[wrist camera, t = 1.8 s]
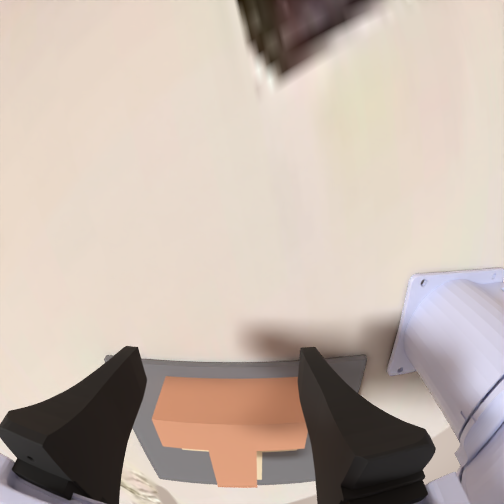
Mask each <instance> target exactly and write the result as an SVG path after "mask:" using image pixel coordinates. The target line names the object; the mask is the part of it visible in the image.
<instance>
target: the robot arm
mask: <svg viewBox="0 0 504 504" xmlns="http://www.w3.org/2000/svg"><path fill="white" fill-rule="evenodd" d="M422 280H424V282H423V283H422V284H421V281H422ZM503 280H504V269H503V268H489V269H477V270H464V271H450V272H436V273H420V274H414V275H413V276H411V278H410V279H409V283H408V288H407V293H406V298H405V302H404V307H403V311H402V316H401V320H400V324H399V328H398V332H397V336H396V340H395V343H394V347H393V351H392V354H391V358H390V361H389V364H388V367H387V372H388V374H389V375H390V376H394V375H400V374H405V373H410V372H415V371H417V372H418V374H419V376H420V377H421V379H422V380H423V382H424V383H425V385H426V387H427V388H428V390H429V391H430V393H431V395H432V396H433V398H434V399H435V401H436V403H437V404H438V406H439V408H440V409H441V411H442V413H443V414H444V416H445V418H446V419H447V421H448V423H449V424H450V426H451V428H452V430H453V431H454V433H455V435H456V436H457V438H458V440H459V442H460V447H459V448H458V450H457V451H456V452H455V455H456V457H457V459H458V461H459V463H460V465H461V466H460V468H459V469H458V471H457V473H456V472H452V473H450V474H448V475H445V476H443V477H440V478H438V479H436V480H434V481H431V482H429V483H428V484H427V485H424V482H423V479H424V478H425V475H424V472H423V468H424V467H425V466H426V465H427V464H428V462H429V461H430V460H431V458H432V457H433V455H434V453H435V446H434V444H433V442H432V440H431V438H430V436H429V434H428V433H427V431H426V430H425V429H423V428H421V427H418V426H415V425H412V424H410V423H407V422H404V421H402V420H400V419H398V418H396V417H394V416H392V415H390V414H388V413H386V412H384V411H383V410H381V409H379V408H378V407H376V406H374V405H373V404H371V403H370V402H369V401H367V400H366V399H364V398H363V397H362V396H361V395H359V394H358V393H357V392H356V391H355V390H353V389H352V388H351V387H350V386H349V385H348V384H347V383H346V382H345V381H344V380H343V379H342V378H341V377H340V376H339V375H338V374H337V373H336V372H335V371H334V370H333V368H332V367H331V366H330V365H329V364H328V363H327V361H326V360H325V359H324V358H323V357H322V355H321V354H320V353H319V351H318V350H317V349H316V348H315V347H307V348H301V349H300V360H299V371H298V381H297V382H298V391H299V398H300V403H301V407H302V411H303V415H304V419H305V423H306V426H307V430H308V434H309V438H310V442H311V447H312V454H313V462H314V470H315V479H316V490H317V501H318V504H504V283H503ZM399 368H400V369H399ZM146 384H147V377H146V374H145V371H144V367H143V364H142V360H141V357H140V353H139V349H138V347H131V346H125V347H124V348H123V349H121V350H120V351H119V352H118V353H117V354H115V355H114V356H113V357H112V358H111V359H109V360H108V361H107V362H106V363H104V364H103V365H102V366H101V367H100V368H98V369H97V370H96V371H94V372H93V373H92V374H90V375H89V376H88V377H86V378H85V379H84V380H82V381H81V382H79V383H78V384H76V385H75V386H73V387H71V388H70V389H68V390H66V391H64V392H63V393H60V394H58V395H56V396H54V397H52V398H50V399H48V400H45V401H43V402H40V403H37V404H34V405H31V406H28V407H24V408H20V409H16V410H11V411H9V412H8V413H7V415H6V416H5V418H4V419H3V421H2V422H1V424H0V438H1V439H2V440H3V442H4V443H5V444H6V445H7V447H8V448H9V449H10V450H11V451H12V453H13V454H14V455H15V456H16V457H17V460H16V462H14V461H13V460H11V459H10V458H8V457H6V456H5V455H3V454H1V453H0V504H119V494H120V483H121V474H122V468H123V462H124V456H125V452H126V447H127V442H128V439H129V436H130V433H131V430H132V427H133V425H134V422H135V419H136V417H137V414H138V411H139V409H140V406H141V403H142V400H143V397H144V393H145V389H146Z"/></svg>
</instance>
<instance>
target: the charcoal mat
mask: <svg viewBox="0 0 504 504" xmlns="http://www.w3.org/2000/svg"><path fill="white" fill-rule="evenodd" d="M112 357H113V356H109V355H106V357H105V359H104V361H105V363H106V362H107V361H108V360H109V359H111V358H112ZM141 360H142V364H143V367H144V371H145V374H146V377H147V384H146V389H145V393H144V397H143V400H142V403H141V406H140V409H139V411H138V414H137V417H136V419H135V422H134V425H133V427H132V428H133V430H134V432H135V434H136V436H137V438H138V440H139V442H140V444H141V446H142V448H143V450H144V452H145V454H146V455H147V457H148V459H149V461H150V463H151V464H152V466H153V468H154V470H155V472H156V473H157V475H158V477H159V478H160V479H165V480H172V481H180V482H190V483H201V484H216V485H217V481H216V477H215V474H214V470H213V466H212V462H211V458H210V454H209V450H195V449H183V448H173V447H165V446H163V445H162V443H161V441H160V438H159V436H158V434H157V431H156V429H155V426H154V424H153V421H152V417H153V413H154V410H155V407H156V404H157V401H158V398H159V395H160V392H161V389H162V386H163V383H164V380H165V377H166V376H171V377H189V378H219V379H252V378H283V377H298V371H299V361H283V362H251V363H214V362H182V361H164V360H150V359H141ZM325 360H326V361H327V363H328V364H329V365H330V366H331V367H332V368H333V370H334V371H335V372H336V373H337V374H338V375H339V376H340V377H341V378H342V379H343V380H344V381H345V382H346V383H347V384H348V385H349V386H350V387H351V388H352V389H353V390H355V391H356V392H357V393H358V392H359V388H360V385H361V381H362V377H363V374H364V370H365V366H366V362H367V358H366V356H365V355H358V356H349V357H339V358H328V359H325ZM311 481H316V479H315V470H314V462H313V454H312V447H311V442H310V438H309V434H308V433H307V438H306V443H305V448H304V449H292V450H277V451H257V485H275V484H290V483H302V482H311Z"/></svg>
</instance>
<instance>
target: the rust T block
mask: <svg viewBox="0 0 504 504" xmlns="http://www.w3.org/2000/svg"><path fill="white" fill-rule="evenodd" d="M297 381H298V377H283V378H252V379H219V378H189V377H171V376H166V377H165V380H164V383H163V386H162V389H161V392H160V395H159V398H158V401H157V404H156V407H155V410H154V413H153V417H152V421H153V424H154V426H155V429H156V431H157V434H158V436H159V438H160V441H161V443H162V445H163V446H165V447H173V448H183V449H195V450H209V454H210V458H211V462H212V466H213V470H214V474H215V477H216V481H217V485H218V487H239V488H252V487H257V451H277V450H292V449H304V448H305V443H306V438H307V433H308V430H307V426H306V423H305V419H304V415H303V411H302V407H301V403H300V398H299V391H298V382H297Z"/></svg>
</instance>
